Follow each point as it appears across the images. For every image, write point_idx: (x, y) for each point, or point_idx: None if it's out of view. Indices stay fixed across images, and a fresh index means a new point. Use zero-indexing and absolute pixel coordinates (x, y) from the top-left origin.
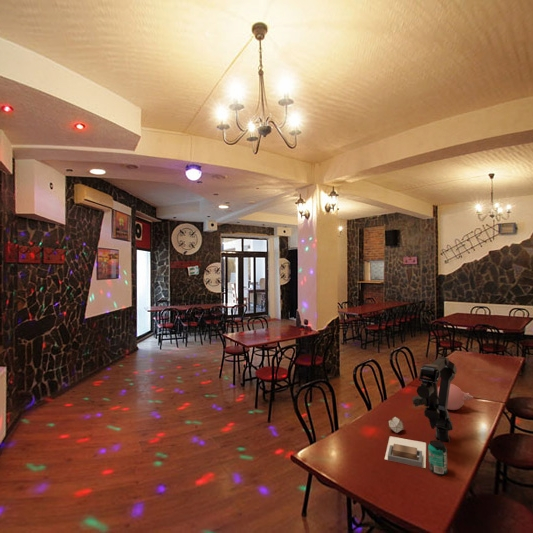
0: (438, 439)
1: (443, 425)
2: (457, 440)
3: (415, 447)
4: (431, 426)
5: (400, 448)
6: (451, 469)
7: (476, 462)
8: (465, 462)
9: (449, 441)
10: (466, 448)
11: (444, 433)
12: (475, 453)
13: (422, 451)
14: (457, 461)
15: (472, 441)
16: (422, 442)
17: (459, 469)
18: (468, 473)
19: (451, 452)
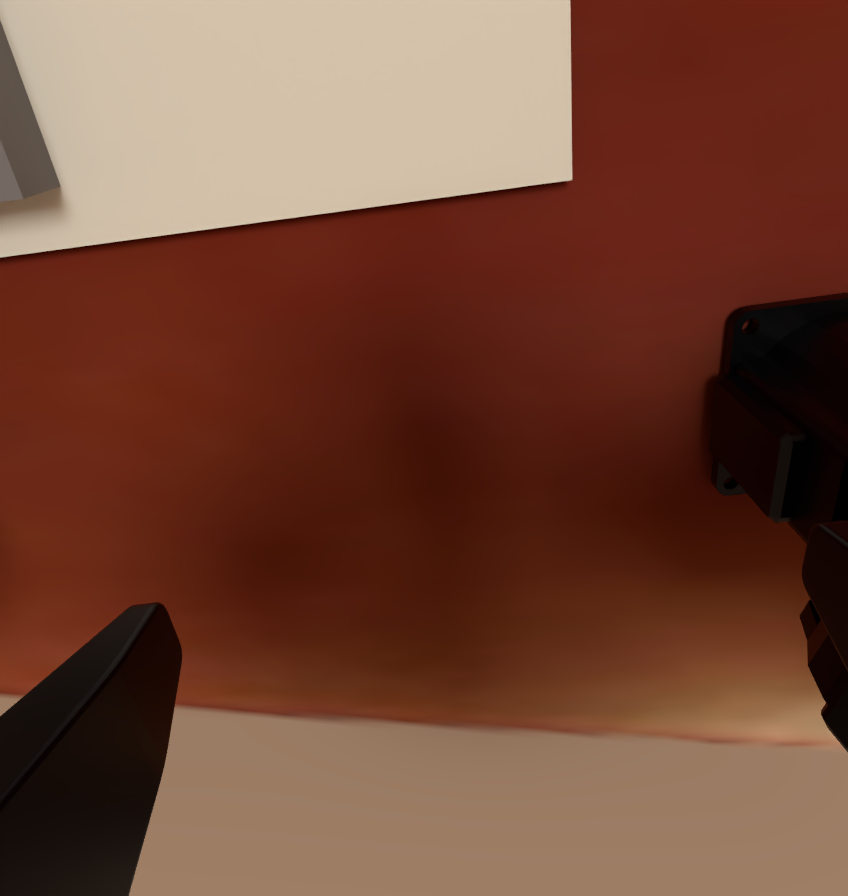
0: (765, 352)
1: (824, 632)
2: None
3: (277, 9)
4: (77, 672)
5: None
6: (34, 558)
7: (368, 719)
8: (303, 650)
9: (742, 488)
10: (644, 636)
11: (777, 512)
12: (561, 703)
13: (204, 169)
14: (272, 590)
15: None
16: (556, 114)
17: (103, 619)
18: None
19: (463, 521)
